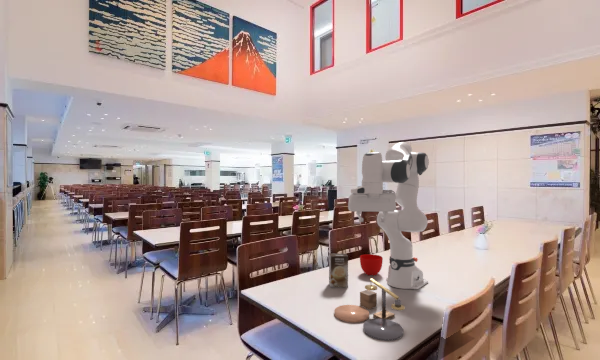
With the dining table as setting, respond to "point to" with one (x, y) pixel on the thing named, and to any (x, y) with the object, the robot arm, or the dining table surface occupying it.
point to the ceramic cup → (371, 264)
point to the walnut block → (368, 299)
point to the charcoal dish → (383, 329)
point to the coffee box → (338, 270)
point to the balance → (384, 313)
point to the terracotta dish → (351, 313)
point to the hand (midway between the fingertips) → (371, 222)
